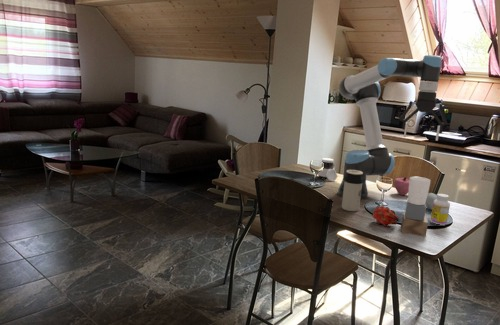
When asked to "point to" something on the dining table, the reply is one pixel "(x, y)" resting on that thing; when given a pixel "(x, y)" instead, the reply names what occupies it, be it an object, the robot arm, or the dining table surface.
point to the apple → (402, 185)
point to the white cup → (418, 190)
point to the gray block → (415, 211)
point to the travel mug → (352, 190)
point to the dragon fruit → (385, 216)
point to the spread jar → (328, 170)
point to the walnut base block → (414, 226)
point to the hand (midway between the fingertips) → (420, 138)
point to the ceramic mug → (430, 200)
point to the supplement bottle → (440, 209)
